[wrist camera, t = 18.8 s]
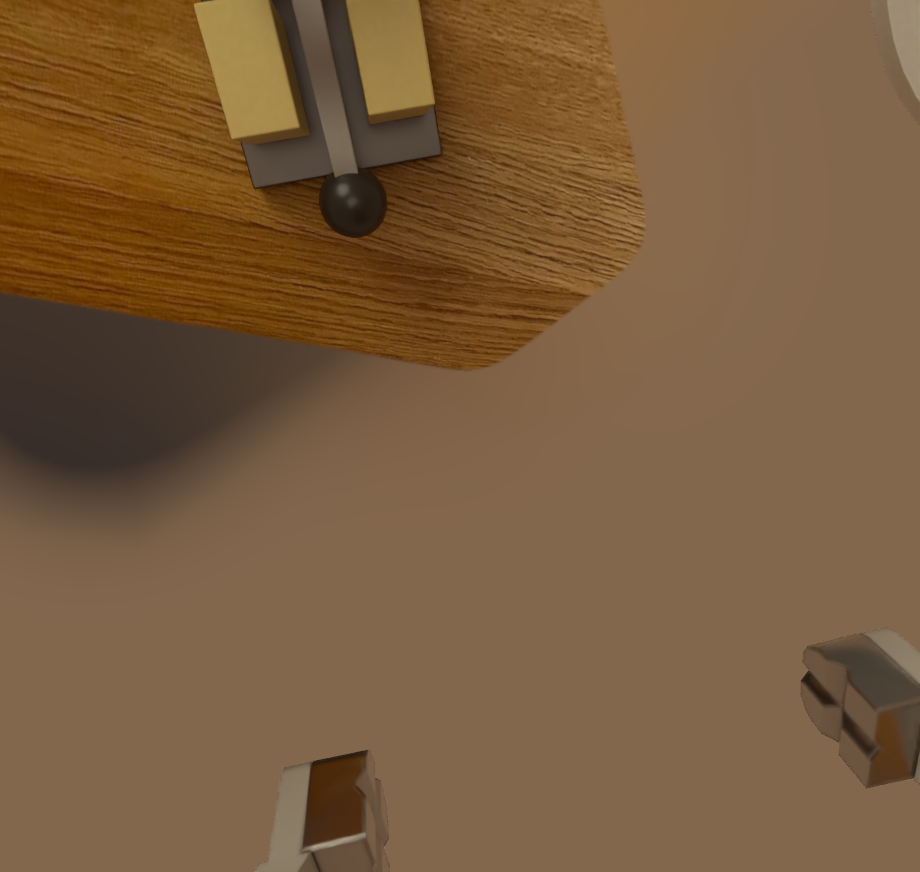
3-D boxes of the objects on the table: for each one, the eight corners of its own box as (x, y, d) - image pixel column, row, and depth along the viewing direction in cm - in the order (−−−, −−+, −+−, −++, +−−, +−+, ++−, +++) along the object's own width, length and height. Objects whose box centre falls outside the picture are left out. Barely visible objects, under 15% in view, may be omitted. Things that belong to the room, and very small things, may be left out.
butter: (407, -1, 30) (413, -33, 25) (426, 114, 32) (435, 104, 27) (220, 30, 29) (192, 3, 25) (251, 145, 31) (231, 140, 27)
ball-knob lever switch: (389, 216, 32) (395, 241, 29) (328, 227, 32) (329, 254, 29) (308, -198, 22) (308, -209, 19) (218, -185, 22) (206, -195, 19)
